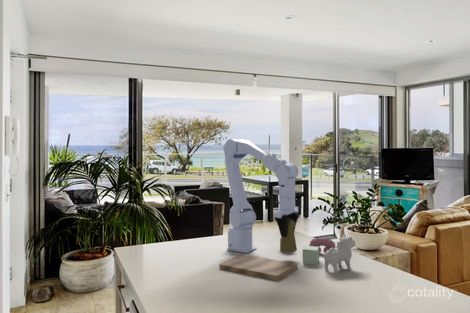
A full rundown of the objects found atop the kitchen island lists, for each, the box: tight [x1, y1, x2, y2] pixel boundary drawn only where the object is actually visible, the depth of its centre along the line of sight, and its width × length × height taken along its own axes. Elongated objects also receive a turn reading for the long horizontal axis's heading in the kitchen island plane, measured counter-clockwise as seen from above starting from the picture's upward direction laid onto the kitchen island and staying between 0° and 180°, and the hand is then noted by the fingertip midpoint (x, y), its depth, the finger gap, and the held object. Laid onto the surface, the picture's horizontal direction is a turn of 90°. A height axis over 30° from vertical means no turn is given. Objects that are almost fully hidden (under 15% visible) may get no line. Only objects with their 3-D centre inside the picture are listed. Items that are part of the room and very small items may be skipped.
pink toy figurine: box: [308, 237, 336, 254], centre depth 142 cm, size 10×5×7 cm, turn 72°
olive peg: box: [279, 219, 298, 253], centre depth 134 cm, size 6×6×11 cm
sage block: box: [302, 245, 320, 266], centre depth 131 cm, size 5×5×5 cm
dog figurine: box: [323, 234, 356, 274], centre depth 123 cm, size 5×13×11 cm, turn 126°
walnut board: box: [218, 253, 298, 282], centre depth 125 cm, size 22×14×2 cm, turn 56°
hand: (287, 234), depth 134 cm, fingers closed on olive peg, 5 cm apart
